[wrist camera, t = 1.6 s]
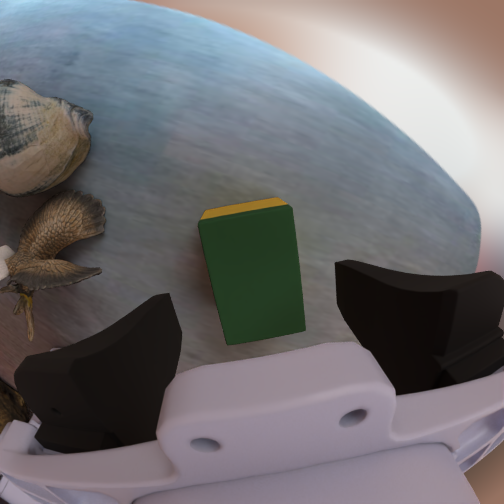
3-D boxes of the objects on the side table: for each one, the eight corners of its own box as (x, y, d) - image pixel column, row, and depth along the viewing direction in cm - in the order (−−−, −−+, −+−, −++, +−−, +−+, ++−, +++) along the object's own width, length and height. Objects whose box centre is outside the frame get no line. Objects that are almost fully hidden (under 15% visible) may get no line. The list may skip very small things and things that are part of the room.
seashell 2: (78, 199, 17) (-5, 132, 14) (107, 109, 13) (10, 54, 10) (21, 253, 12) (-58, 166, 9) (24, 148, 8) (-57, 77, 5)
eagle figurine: (74, 336, 17) (136, 281, 15) (-6, 346, 11) (19, 282, 8) (51, 251, 19) (104, 181, 17) (-19, 245, 13) (14, 155, 10)
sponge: (292, 299, 19) (306, 331, 15) (227, 311, 19) (227, 346, 15) (278, 196, 17) (292, 206, 13) (204, 210, 17) (197, 223, 13)
